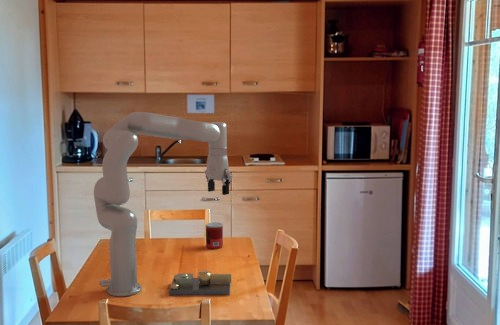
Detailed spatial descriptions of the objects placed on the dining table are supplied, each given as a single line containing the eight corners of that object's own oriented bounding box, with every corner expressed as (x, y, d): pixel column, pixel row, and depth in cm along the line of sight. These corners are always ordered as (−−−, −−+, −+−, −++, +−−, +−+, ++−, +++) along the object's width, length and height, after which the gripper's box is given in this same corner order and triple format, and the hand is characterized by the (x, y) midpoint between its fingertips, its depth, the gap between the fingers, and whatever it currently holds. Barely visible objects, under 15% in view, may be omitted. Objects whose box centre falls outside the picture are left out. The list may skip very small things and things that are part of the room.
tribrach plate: (169, 295, 207) (168, 280, 206) (173, 283, 220) (173, 269, 219) (229, 294, 207) (229, 280, 206) (230, 282, 220) (230, 268, 219)
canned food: (226, 246, 268) (225, 223, 267) (216, 250, 262) (215, 227, 260) (212, 243, 272) (212, 221, 271) (202, 248, 266) (202, 225, 264)
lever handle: (198, 285, 211) (197, 273, 210) (199, 280, 215) (198, 269, 215) (231, 284, 211) (231, 273, 210) (231, 280, 216) (231, 269, 215)
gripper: (198, 151, 238) (199, 191, 241) (223, 154, 225) (224, 197, 228) (212, 149, 243) (213, 188, 246) (238, 153, 230) (238, 194, 233)
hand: (218, 192), depth 237 cm, fingers open, 9 cm apart
